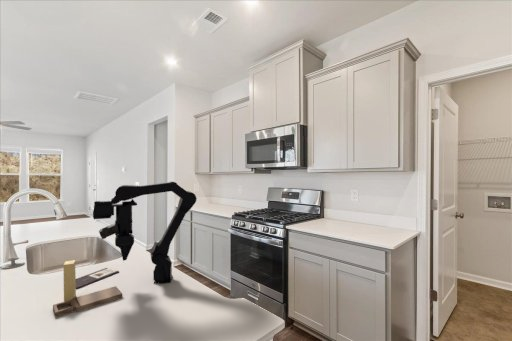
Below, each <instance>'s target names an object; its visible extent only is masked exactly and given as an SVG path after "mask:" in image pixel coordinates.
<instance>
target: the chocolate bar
mask: <svg viewBox="0 0 512 341" xmlns="http://www.w3.org/2000/svg"><path fill="white" fill-rule="evenodd" d="M116 274H120V271H119V270H115V269H112V268H108V267H104V268H101V269H100V270H96V271H93V272H92V273H89V274H85V275H83V276H80V277H78V278H76V290H78V289H82V288H84V287H86V286H89V285H91V284H93V283H96V282H98V281H99V282H100V281H101V280H104V279H105V278H109V277H111V276H114V275H116Z"/></svg>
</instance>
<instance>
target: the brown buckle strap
mask: <svg viewBox="0 0 512 341" xmlns="http://www.w3.org/2000/svg"><path fill="white" fill-rule="evenodd" d="M122 298H123V293H122V291H121V290H120V289H119V288H118V287H117V286H116V285H115V286H112V287H107V288H104V289H101V290H100V289H99V290H97V291H93V292H90V293H87V294H83V295H79V296H75V298H72V300H68V301H65V302H64V301H62V302H58V303H54V304H53V305H52V310H53V314H54V318H58V317H61V316H64V315H67V314H71V313H73V312H76V313H77V312H81V311H83V310H87V309H90V308H93V307H96V306H100V305H103V304H106V303H110V302H112V301H115V300H118V299H122ZM69 306H70V307H69ZM65 307H66V308H65ZM61 308H63V309H61Z"/></svg>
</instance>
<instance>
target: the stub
mask: <svg viewBox="0 0 512 341" xmlns="http://www.w3.org/2000/svg"><path fill="white" fill-rule="evenodd" d="M62 268H63V302H65V301H68V300H72V298H76V297H77V296H76V294H77V292H76V290H77V289H76V279H77V278H76V260H75V259H73V260H66V261H64V263H63V267H62Z"/></svg>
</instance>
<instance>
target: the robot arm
mask: <svg viewBox="0 0 512 341" xmlns="http://www.w3.org/2000/svg"><path fill="white" fill-rule="evenodd" d="M167 192H168V193H169V192H172V193H174V194H175V195H176V196H177V197H179V200H178V202H177V203H178V204H177V209H176V211H175V213H174V215H173V216H172V218H171V220H170V222H169V224H168V225H167V228H166V230H165V231H164V234H163V235H162V237H161V239H160V240H159V241H158V242H157V241H156V240H155V241H154V243H153V246H152V247H151V248H150V250H149V251H150V260H151V262H152V264H154V265H155V266H154V270H152V271H153V276H152V277H153V281H154V282H153V284H166V283H167V284H168V283H171V281H172V279H173V272H172V270H173V267H172V264H173V262H172V261H171V258H170V256H169V251H170V246H171V243H172V242H173V239H174V237H175V235H176V233H177V232H178V230H179V228H180V226H181V225H182V224H181V223H182V221H183V220H184V218H185V216H186V214H187V213H188V212H189V211H190V210H191V209H192V208H193V207H194V205H195V204H196V203H197V199H198V198H197V196H196V194H195V193H194V192H192V191H189V190H188V191H187V190H186V189H184V188H183V187H181V186H180V185H178V183H177V182H175V181H169V182H161V183H154V184H153V183H152V184H146V185H131V184H130V185H129V184H127V185H126V184H123V185H120V186H119V187H118V188H117V189H116V191H115V194H114V197H113V198H111V200H107V201H105V200H103V201H102V200H101V201H100V200H95V201H94V205H93V210H92V216H93V217H92V218H93V220H104V219H105V220H106V219H112V217H113V216H115V220H114V223H113V224H110V225H107V226H105V227H102V228H100V229H99V230H98V233H99V236H100V238H101V240H104V239H107V238H108V237H110V236H113V235H115V237H114V240H115V243H114V244H115V247H116V248H117V247H118V248H119V249H120V254H121V257H122V261H127V259H128V257H129V254H130V253H131V250H132V247H133V245H134V243H135V236H134V235H133V232H134V231H133V206H136V207H137V206H138V202H136V201H135V200H134V199H135V198H138V197H141V196H146V195H154V194H161V193H167ZM129 200H130V201H129ZM121 201H122V202H121ZM120 202H121V203H120Z"/></svg>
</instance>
